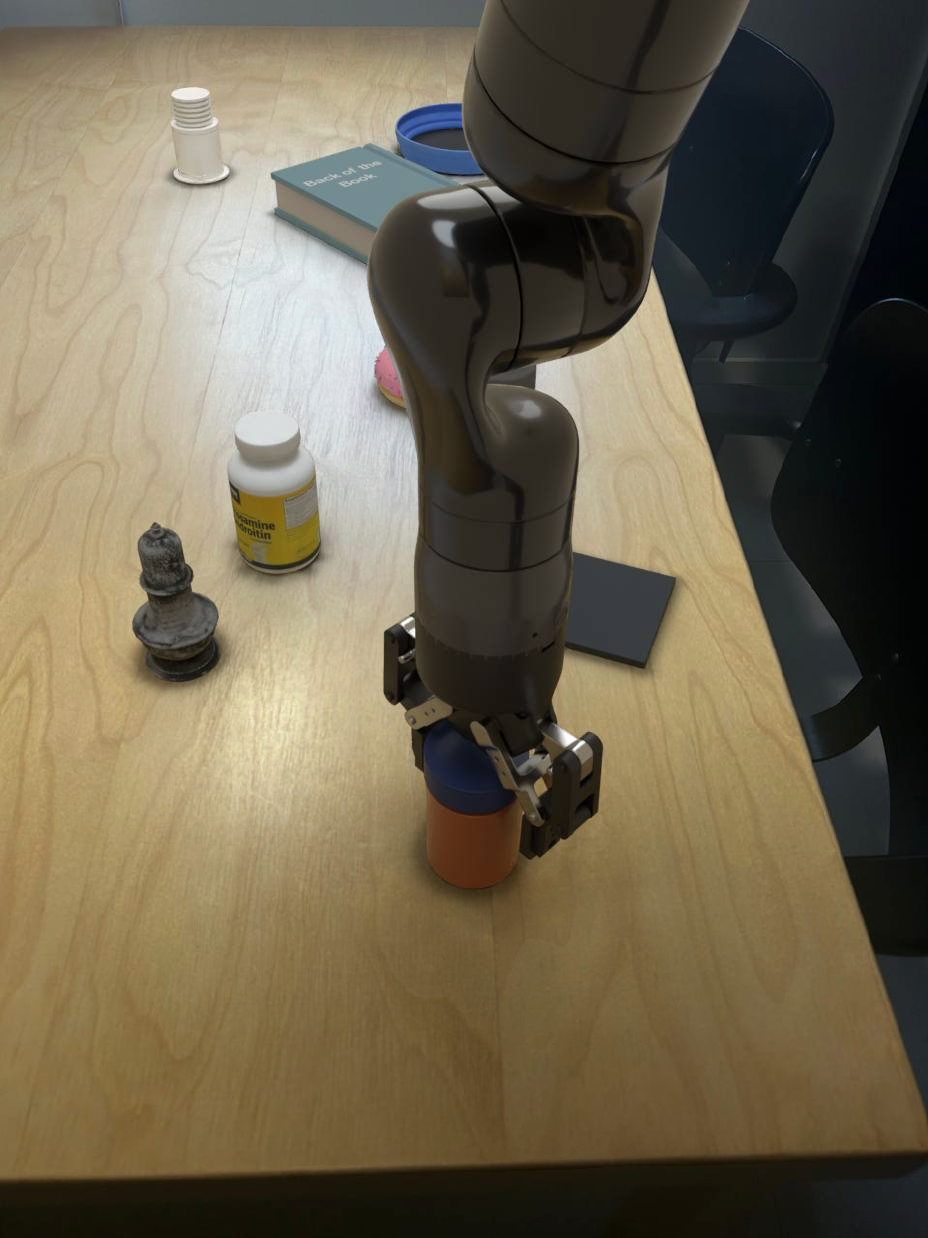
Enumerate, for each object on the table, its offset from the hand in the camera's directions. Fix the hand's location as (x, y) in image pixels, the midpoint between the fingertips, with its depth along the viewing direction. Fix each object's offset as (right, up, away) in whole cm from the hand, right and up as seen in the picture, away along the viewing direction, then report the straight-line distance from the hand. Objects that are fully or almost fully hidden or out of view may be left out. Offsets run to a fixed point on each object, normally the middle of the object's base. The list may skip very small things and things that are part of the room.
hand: (482, 804), depth 64 cm
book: (-11, +58, +68) cm, 90 cm away
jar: (-1, -3, +3) cm, 4 cm away
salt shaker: (-21, +8, +15) cm, 27 cm away
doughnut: (-4, +33, +41) cm, 53 cm away
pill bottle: (-16, +16, +23) cm, 32 cm away
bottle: (+2, +24, +32) cm, 40 cm away
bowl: (-1, +74, +86) cm, 114 cm away
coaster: (+9, +12, +19) cm, 24 cm away
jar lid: (0, +3, -3) cm, 5 cm away
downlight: (-35, +68, +78) cm, 110 cm away
